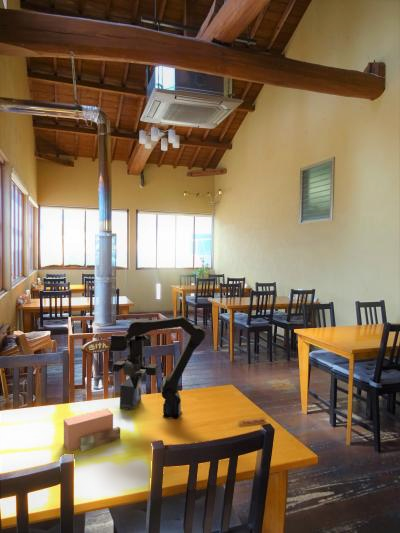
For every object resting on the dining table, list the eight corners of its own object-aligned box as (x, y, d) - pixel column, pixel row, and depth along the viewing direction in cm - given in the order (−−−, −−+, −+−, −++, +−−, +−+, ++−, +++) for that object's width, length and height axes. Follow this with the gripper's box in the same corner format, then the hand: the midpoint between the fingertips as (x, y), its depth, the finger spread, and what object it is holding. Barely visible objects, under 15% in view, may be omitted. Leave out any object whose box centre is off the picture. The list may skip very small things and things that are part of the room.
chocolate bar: (236, 424, 146) (236, 419, 146) (263, 420, 150) (263, 415, 150) (238, 427, 144) (239, 422, 144) (266, 423, 148) (266, 418, 147)
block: (107, 431, 138) (107, 408, 138) (112, 437, 134) (113, 413, 134) (63, 444, 129) (63, 419, 129) (68, 451, 125) (68, 425, 124)
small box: (133, 410, 157) (133, 386, 156) (119, 408, 158) (119, 385, 158) (142, 400, 167) (142, 378, 167) (128, 399, 169) (128, 376, 168)
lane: (107, 426, 142) (107, 416, 142) (120, 439, 133) (120, 428, 133) (71, 437, 134) (71, 426, 134) (81, 451, 125) (81, 439, 124)
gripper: (105, 354, 143) (105, 393, 144) (150, 358, 139) (149, 398, 140) (118, 347, 154) (118, 383, 155) (160, 350, 150) (159, 388, 151)
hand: (135, 388), depth 150 cm, fingers closed
